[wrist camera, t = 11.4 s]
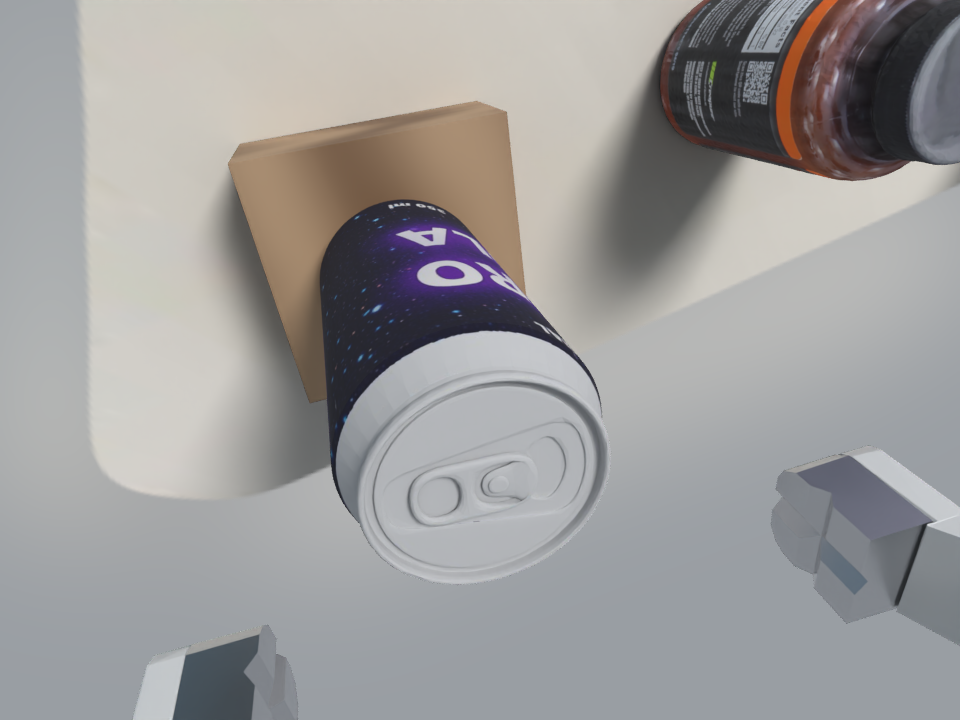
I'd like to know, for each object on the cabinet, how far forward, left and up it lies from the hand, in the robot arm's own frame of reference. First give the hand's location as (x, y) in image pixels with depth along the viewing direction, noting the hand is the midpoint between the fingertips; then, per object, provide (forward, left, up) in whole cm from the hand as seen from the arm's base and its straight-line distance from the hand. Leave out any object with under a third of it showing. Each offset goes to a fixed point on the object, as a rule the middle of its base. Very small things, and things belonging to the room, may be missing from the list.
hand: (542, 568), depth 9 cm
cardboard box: (0, 0, -18) cm, 18 cm away
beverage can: (0, 0, -14) cm, 14 cm away
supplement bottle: (-15, -4, -18) cm, 24 cm away
